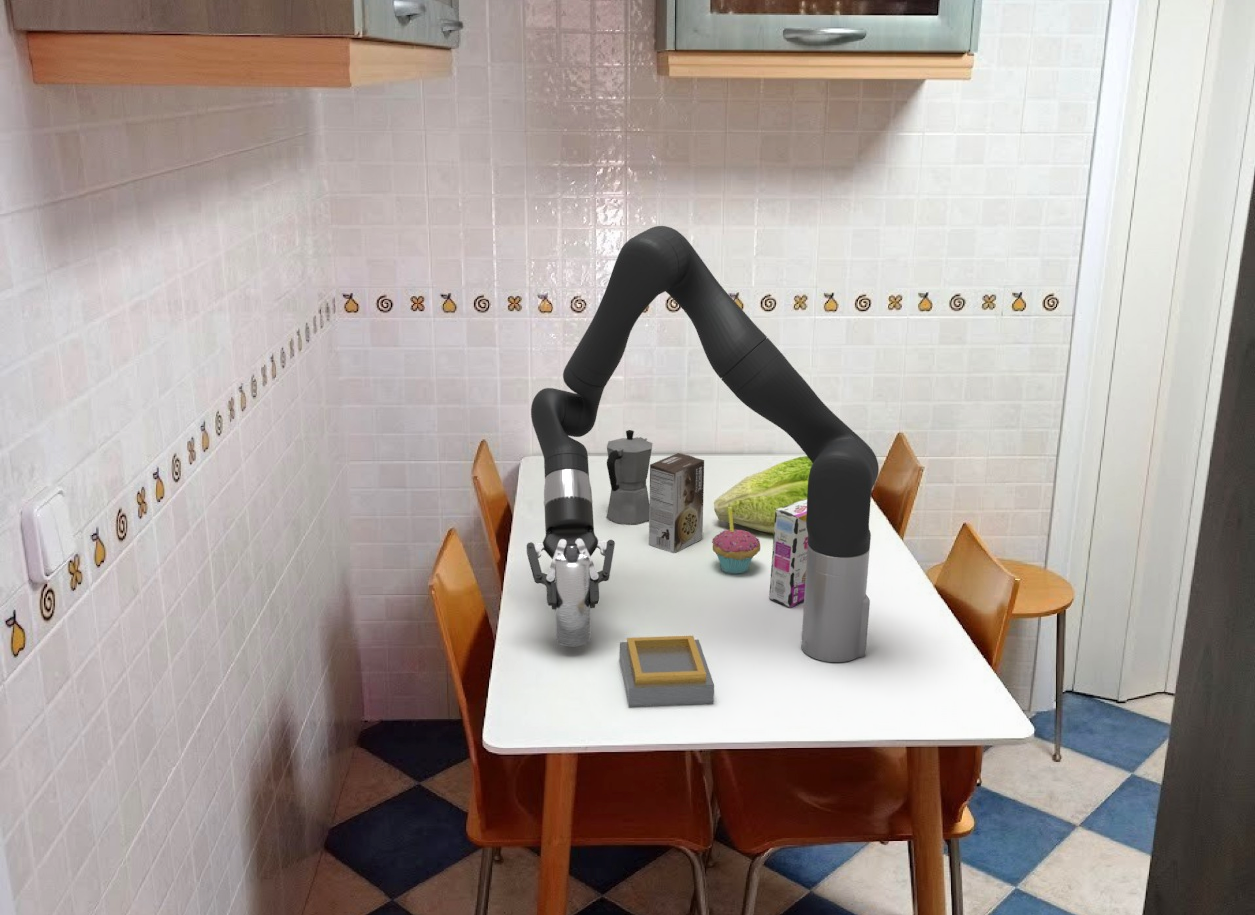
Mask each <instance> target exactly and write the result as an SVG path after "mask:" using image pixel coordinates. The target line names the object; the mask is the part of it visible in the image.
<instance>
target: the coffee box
mask: <svg viewBox="0 0 1255 915" xmlns="http://www.w3.org/2000/svg"><path fill="white" fill-rule="evenodd" d="M649 470H650V471H649V504H650V506H649V520H648V545H649V546H651V547H654V548H657V549H660V550H664V551H666V552H669V553H672V554H676V553H677V552H680V551H681V550H684V549H686V548H687V547H689V546H691V545H693V544H695V543H697V542H699V541H701V540H703V530H704V529H703V527H704V524H703V523H704V493H705V492H704V487H705V486H704V485H705V483H704V482H705V459H701V458H698V457H695V456H692V455H688V454H684V453H681V452H678V453H674V454H673V455H670V456H668V457H665V458H662V459H659V460H658V461H656V462H653V463H651V464H650V463H649Z"/></svg>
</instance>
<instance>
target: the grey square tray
mask: <svg viewBox="0 0 1255 915" xmlns="http://www.w3.org/2000/svg"><path fill="white" fill-rule="evenodd" d="M618 658H619V665H620V670H621V674H622V679H623V686H624V690H625V694H626V700H627V704H628V708H643V707H645V708H646V707H665V706H692V705H693V706H694V705H714V702H715V701H714V700H715V698H714V695H715V683H714V680H713V678H712V675H711V672H710V668H709V666H708V663H707V660H706V657H705V654H704V652H703V648H702V646H701V643H700V639H695V636H694V635H674V636H673V635H671V636H667V635H666V636H644V637H643V636H642V637H641V636H640V637H639V636H638V637H627V638H626V641H622V642H621V641H620V642H619V656H618Z"/></svg>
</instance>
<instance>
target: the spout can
mask: <svg viewBox="0 0 1255 915" xmlns="http://www.w3.org/2000/svg"><path fill="white" fill-rule="evenodd" d="M555 584H556V600H557V609H556V610H555V630H556V631H555V633H556V635H555V637H556V642H557V643H558V644H560V645H562V646H564V647H581V646H584V645H586V644H588V643H589V642H590V641H591V608H590V560H589V558H588V557H587V556H585V555H581V554H578V553H577V544H568V545H567V554H565V555H561V556H559V557H557V558H556V559H555Z"/></svg>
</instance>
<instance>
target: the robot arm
mask: <svg viewBox="0 0 1255 915" xmlns="http://www.w3.org/2000/svg"><path fill="white" fill-rule="evenodd" d="M607 282H608V283H607V286H606V288H605V291H604V294H603V296H602V298H601V300H600V303H599V305H598V307H597V310H596V312H595V313H594V316H593V318H592V319H591V322H590V323H589V324H588V325H589V326H588V327H587V329H586V330H585V333H584V334H583V336H582V337H581V339H580V341H579V342H578V344H577V345H576V348H575V350H574V351H573V353H572V355H571V356H570V358H569V360H568V362H567V363H566V365H565V367H564V370H563V371H562V372H563V373H562V378H563V382H564V383H565V385H566V386H567V388H569V389H570V390H571V391H572V392H570V391H567V390H566V391H565V390H562V389H558V388H552V387H547V388H543V389H540V390H539V391H537V393H536V395H535V396H534V397H533V399H532V403H531V407H530V418H531V422H532V426H533V429H534V432H535V434H536V438H537V440H538V444H539V447H540V450H541V452H542V456H543V461H544V462H543V463H544V464H543V465H544V466H543V468H544V487H543V488H544V489H543V506H544V523H545V524H544V526H545V529H544V530H545V531H544V532H545V536H544V539H543V541H542V542H538V543H534V542H531V541H530V542H528V543H526V555H527V559H528V562H529V566H530V570H531V573H532V579H533V580H534V582H535V584H542V585H544V586H545V587H546V604H547V606H548V607H551V610H553V611H554V610H555V611H556V609H557V600H556V584H555V559H556V558H557V557H559V556H561V555H565V554H567V545H568V544H577V553H578V554H581V555H585V556H587V557H588V558H589V560H590V609H596V605H598V604H599V602H600V586H599V585H600V583H601V582H608V581H609V580H610V576H611V575H610V574H611V570H612V563H613V557H614V551H615V545H616V543H615V540H613V539H608V540H607V541H605V540H600V539H598V537H597V536H596V533H595V526H594V512H593V511H594V508H593V506H594V505H593V493H592V486H591V482H590V472H589V457H588V451H587V447H586V446H585V445H584V444H583V443H581V442H580V441H578V440H576V439H574V438H572V437H575V438H581V437H583V436H586V435H587V434H588V433H589V432H591V431H592V430H593V427H595V423H596V420H597V415H598V411H599V406H600V403H601V400H602V396H603V393H604V390H605V387H606V386H607V384H608V382H609V381H610V379H611V377H612V376H613V375H614V372H615V371H616V370H617V368H618V366H619V364H620V362H621V360H622V358H623V355H624V353H625V352H626V351H625V350H626V347H627V344H628V341H629V337H630V335H631V332H632V330H633V328H634V325H636V323H637V321H638V320H639V318H640V316H641V315H642V314H643V313H644V311H645V310H646V309H647V308H648V307H649V305H650V304H651V303H652V302H653V301H654V300H655V299H656V298H657V297H658V296H659V295H661V294H663V293H667V294H668V295H669V297H671V298H672V299H673V300H674V302H675V303H676V304H677V305H678V306H679V307H680V308H681V309H682V310H683V311H684V312H685V314H686V316H687V317H688V318H689V320H690V321H691V323H692V324H693V326H694V329H695V330H696V333H697V336H698V338H699V341H700V344H701V346H702V349H703V351H704V354H705V356H706V358H707V360H708V362H709V364H710V365H711V366H710V367H711V368H712V369H713V371H714V372H715V373H716V375H717V376H718V377H719V379H721V382H723V383H724V384H725V385H726V386H727V388H728V389H729V390H730V391H731V392H732V393H733V394H734V395H735V397H736V398H737V399H739V400H740V401H741V402H742V403H743V404H744V405H745V406H746V407H748V408H749V409H750V410H752V411H753V412H754V413H756V414H758V415H759V416H761V417H762V418H764V419H765V420H767V421H769V422H770V423H772V424H773V425H775V426H776V427H778V428H780V429H781V430H782V431H784V432H785V433H786V434H787V435H789V437H791V439H793V441H794V442H795V443H796V444H797V445H798V446H799V448H800V449H801V450H802V451H803V453H804V454H805V456H808V458H809V459H810V460H811V462H812V463H813V464H812V467H811V469H810V473H809V479H808V491H807V516H806V527H807V532H808V547H807V563H806V578H805V594H804V601H803V612H802V627H801V641H800V644H801V645H800V647H801V650H802V652H804V653H805V654H806V656H809V657H811V658H813V659H816V660H817V661H818V660H819V661H822V662H827V663H828V662H829V663H844V662H850V661H853V660H855V659H857V658H860V657H861V658H862V657H863V658H864V657H866V652H867V640H868V628H869V617H870V604H871V603H870V602H871V601H870V600H871V599H870V598H869V597H868V595H867V587H868V586H867V585H868V574H869V563H870V562H869V561H870V550H871V538H872V534H871V533H872V532H871V531H870V517H871V516H870V515H871V500H872V490H873V488H874V486H875V484H876V482H877V479H878V476H879V470H880V469H879V468H880V466H879V461H878V458H877V456H876V453H874V451H873V449H872V447H870V445H868V443H867V442H866V441H864V440H863V438H861V437H860V435H858V434H857V433H856V432H855V431H854V430H852V429H851V428H850V427H849V426H848V425H847V424H846V423H845V422H844V421H842V420H841V419H840V418H839V416H837V415H836V414H835V413H834V412H833V411H832V410H831V409H830V408H829V407H828V406H827V405H826V404H825V403H824V402H823V401H822V400H821V398H820V397H819V396H818V395H817V393H816V392H815V390H813V388H812V387H811V386H810V385H809V384H808V383H807V381H806V380H805V379H804V378H803V377H802V375H801V374H800V373H799V372H798V371H797V370H796V369H795V367H794V366H792V364H791V363H790V361H789V360H788V359H787V358H786V357H785V355H784V354H783V353H782V351H780V350H779V349H778V348H777V346H776V344H774V343H773V342H772V341H771V340H770V338H769V337H768V336H767V335H766V334H765V333H764V332H763V331H762V330H761V329H760V328H759V327H758V326H757V325H756V323H754V322H753V320H752V319H751V318H750V317H749V316H748V315H747V314H746V312H745V311H744V310H743V309H742V308H741V307H740V306H739V304H738V303H737V302H736V301H735V299H733V298H732V296H731V295H729V294H728V293H727V291H726V290H725V289H724V288H723V287H722V285H721V284H720V283H719V281H718V280H717V278H715V276H714V275H713V273H712V271H710V269H709V268H708V266H707V265H706V264H705V262H704V260H703V259H702V258H701V257H700V254H698V252H697V250H695V249H694V247H693V245H692V244H691V242H690V241H689V240H688V239H687V238H686V237H685V236H684V235H683V234H682V233H680V232H679V231H678V230H676V229H674V228H673V227H671V226H666V225H656V226H655V225H654V226H652V227H650V228H648V229H646V230H644V231H642V232H640V233H639V234H637V235H635V236H633V237H631V238H629V240H627V241H626V242H625V243H624V244H623V246H622V247H621V248H620V250H619V253H618V255H617V257H616V260H615V263H614V265H613V269H612V270H611V274H610V277H609V280H608V281H607ZM597 548H598V549H599V551H600V553H599V554H600V555H601V556H602V557H603V556H604V560H603V565H602V570H600V571H597V569H596V566H595V565H594V561H593V559H592V555H593V554H594V553H595V551H596V549H597ZM543 551H545V553H546V554H547V556H549V558H551V562H550V566H549V569H548V571H547V573H545V572H543V571H542V568H541V565H540V562H539V558H541V556H542V552H543Z"/></svg>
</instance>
